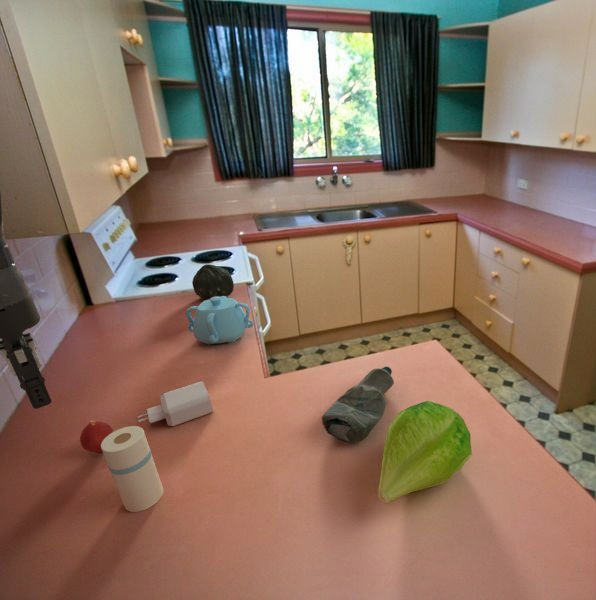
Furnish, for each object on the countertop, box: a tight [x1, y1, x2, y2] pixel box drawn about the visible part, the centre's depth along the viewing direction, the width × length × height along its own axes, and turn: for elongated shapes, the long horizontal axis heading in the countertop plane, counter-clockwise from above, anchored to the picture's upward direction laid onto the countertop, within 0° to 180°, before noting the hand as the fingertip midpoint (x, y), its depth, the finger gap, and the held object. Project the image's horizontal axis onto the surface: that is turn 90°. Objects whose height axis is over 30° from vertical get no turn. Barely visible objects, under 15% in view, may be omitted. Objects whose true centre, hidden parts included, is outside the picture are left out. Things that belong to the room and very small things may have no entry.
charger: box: [136, 380, 214, 427], centre depth 100 cm, size 5×9×15 cm
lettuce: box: [378, 400, 473, 504], centre depth 79 cm, size 15×22×15 cm
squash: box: [191, 263, 235, 302], centre depth 165 cm, size 14×15×15 cm
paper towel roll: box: [101, 425, 164, 513], centre depth 76 cm, size 6×6×14 cm
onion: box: [79, 420, 115, 453], centre depth 89 cm, size 6×6×8 cm
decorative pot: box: [185, 296, 254, 345], centre depth 134 cm, size 16×16×14 cm
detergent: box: [321, 366, 395, 444], centre depth 99 cm, size 13×7×25 cm
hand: (38, 393), depth 66 cm, fingers open, 8 cm apart
